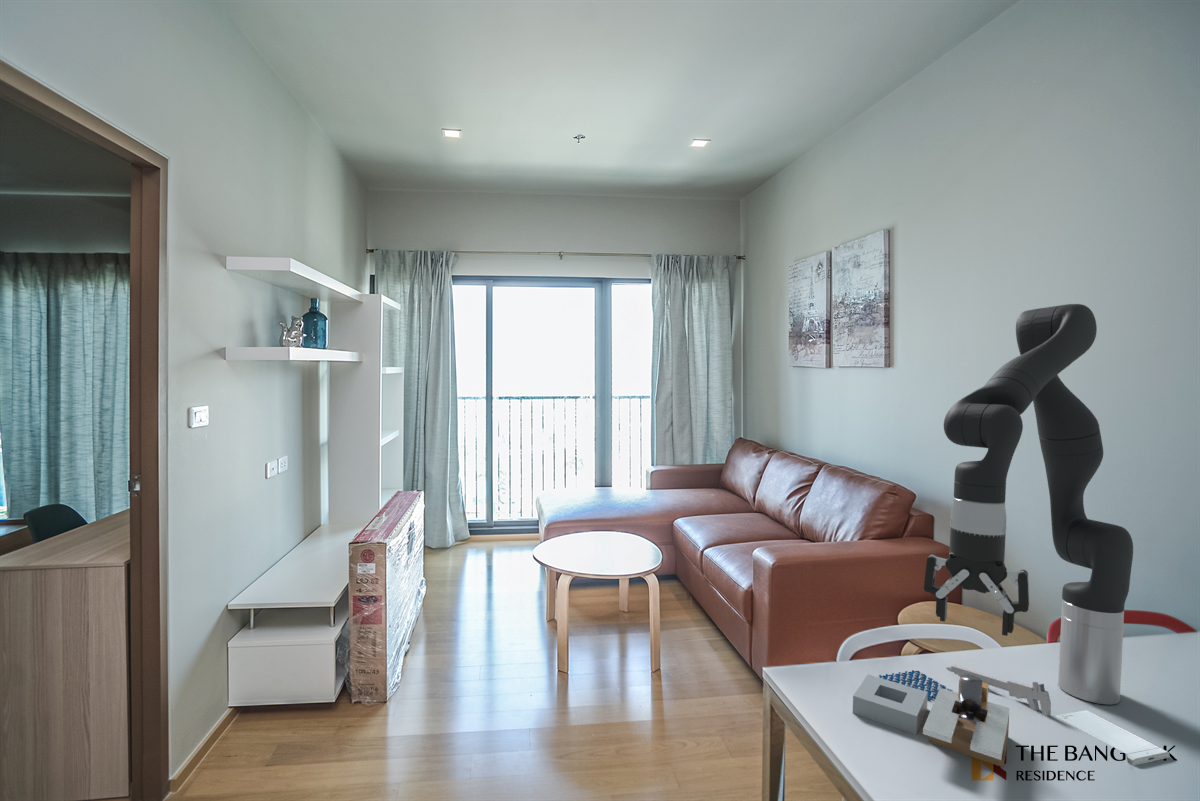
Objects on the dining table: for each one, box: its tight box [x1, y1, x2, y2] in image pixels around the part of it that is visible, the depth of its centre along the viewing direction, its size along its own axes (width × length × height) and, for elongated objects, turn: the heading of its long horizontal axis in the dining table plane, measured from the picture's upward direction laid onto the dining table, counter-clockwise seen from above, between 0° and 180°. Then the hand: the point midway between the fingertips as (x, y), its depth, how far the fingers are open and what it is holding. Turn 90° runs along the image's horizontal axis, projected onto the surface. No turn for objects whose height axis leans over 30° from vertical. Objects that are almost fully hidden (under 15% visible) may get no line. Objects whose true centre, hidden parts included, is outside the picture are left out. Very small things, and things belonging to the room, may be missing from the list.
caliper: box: [945, 664, 1052, 717], centre depth 114 cm, size 20×1×6 cm, turn 19°
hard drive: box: [1055, 710, 1170, 767], centre depth 100 cm, size 2×8×12 cm
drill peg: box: [959, 674, 982, 723], centre depth 97 cm, size 3×3×10 cm
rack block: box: [852, 674, 929, 735], centre depth 105 cm, size 10×10×4 cm
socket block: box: [928, 705, 1010, 768], centre depth 97 cm, size 10×10×5 cm
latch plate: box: [922, 676, 1010, 760], centre depth 95 cm, size 16×10×4 cm, turn 142°
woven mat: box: [878, 669, 954, 702], centre depth 114 cm, size 10×11×2 cm
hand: (973, 626), depth 97 cm, fingers open, 8 cm apart
